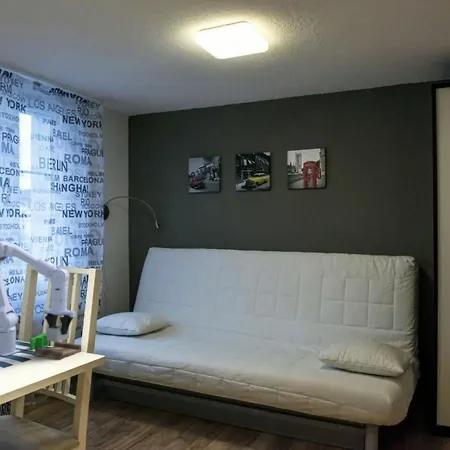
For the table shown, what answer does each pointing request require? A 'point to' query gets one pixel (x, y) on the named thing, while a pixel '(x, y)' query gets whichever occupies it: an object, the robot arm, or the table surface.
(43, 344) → the pipe clamp
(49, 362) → the table surface
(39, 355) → the board
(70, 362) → the table surface
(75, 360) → the table surface
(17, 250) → the robot arm
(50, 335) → the block
